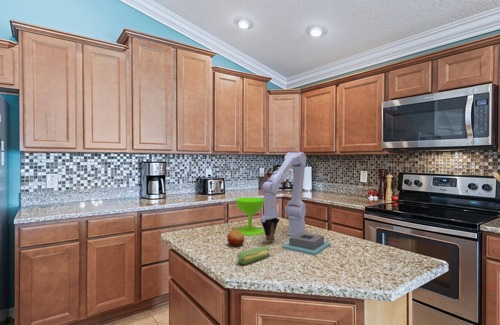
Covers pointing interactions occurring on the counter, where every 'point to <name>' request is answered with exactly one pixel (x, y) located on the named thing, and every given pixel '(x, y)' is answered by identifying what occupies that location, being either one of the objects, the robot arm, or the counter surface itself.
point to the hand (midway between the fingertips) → (270, 234)
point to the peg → (271, 233)
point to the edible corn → (253, 254)
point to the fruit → (235, 238)
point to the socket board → (313, 252)
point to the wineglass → (250, 214)
